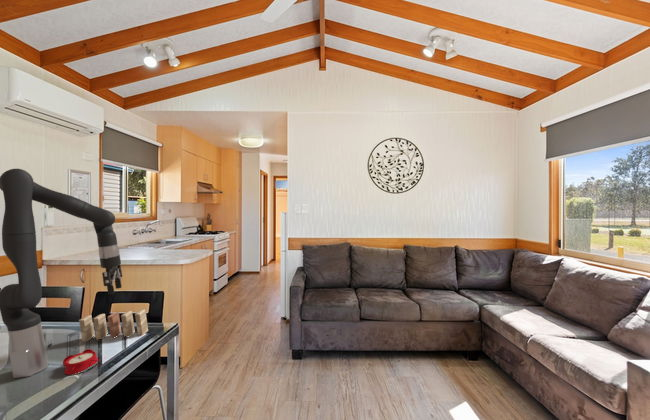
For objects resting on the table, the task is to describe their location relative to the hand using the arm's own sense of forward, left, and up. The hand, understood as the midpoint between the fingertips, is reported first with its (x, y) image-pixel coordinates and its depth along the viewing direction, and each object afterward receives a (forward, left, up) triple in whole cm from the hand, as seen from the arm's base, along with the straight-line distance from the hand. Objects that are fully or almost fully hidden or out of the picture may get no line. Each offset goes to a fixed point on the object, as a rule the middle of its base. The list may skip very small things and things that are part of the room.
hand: (115, 291), depth 147 cm
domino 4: (0, -10, -20) cm, 23 cm away
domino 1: (0, +14, -20) cm, 25 cm away
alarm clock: (-25, +1, -21) cm, 33 cm away
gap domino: (0, +2, -20) cm, 21 cm away
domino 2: (0, +8, -20) cm, 22 cm away
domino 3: (0, -4, -20) cm, 21 cm away
